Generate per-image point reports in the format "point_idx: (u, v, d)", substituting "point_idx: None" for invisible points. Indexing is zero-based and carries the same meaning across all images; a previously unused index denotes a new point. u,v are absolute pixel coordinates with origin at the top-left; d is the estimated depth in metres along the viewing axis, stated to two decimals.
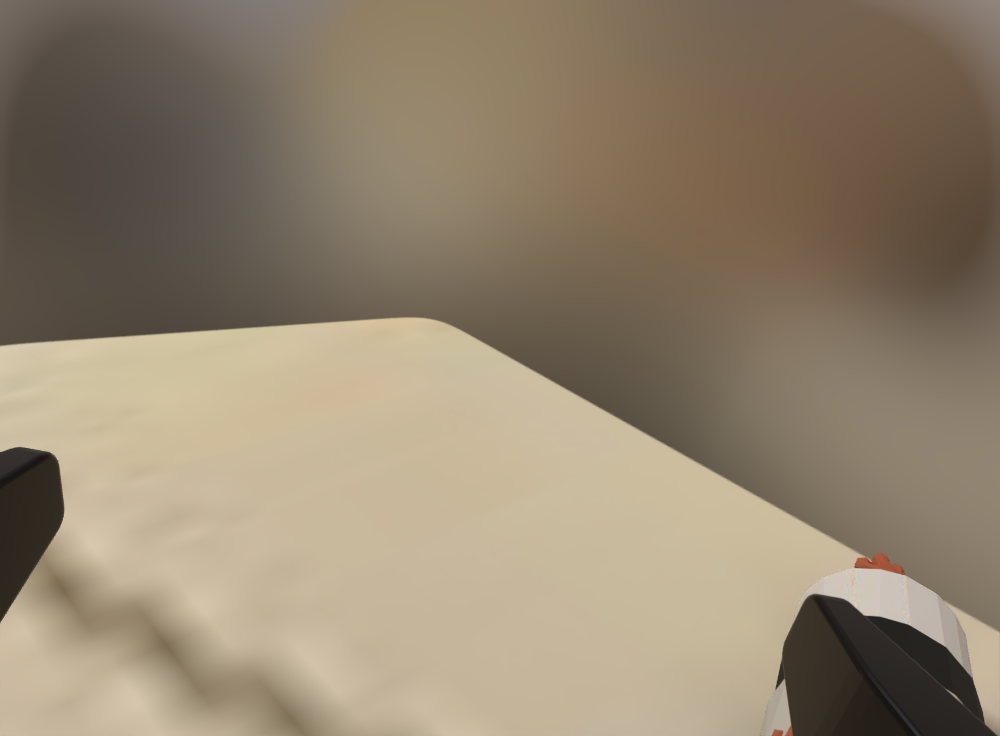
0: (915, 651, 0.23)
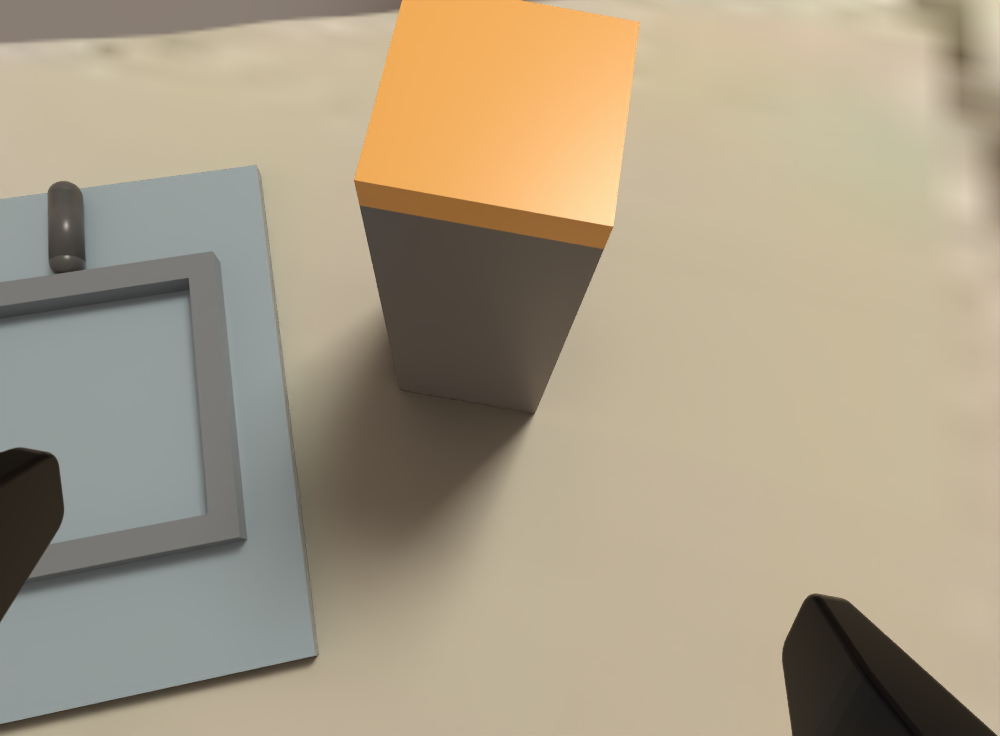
0: None
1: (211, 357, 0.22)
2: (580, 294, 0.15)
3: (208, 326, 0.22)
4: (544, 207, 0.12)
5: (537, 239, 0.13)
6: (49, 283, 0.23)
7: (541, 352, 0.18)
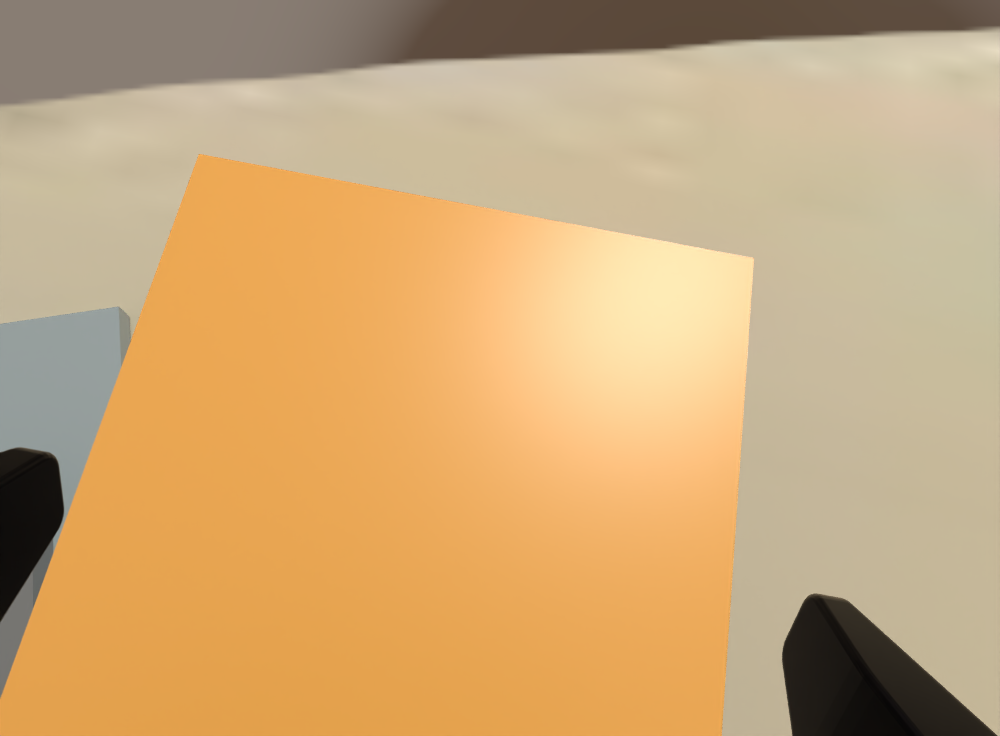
0: None
1: (14, 638, 0.14)
2: None
3: None
4: None
5: None
6: None
7: None
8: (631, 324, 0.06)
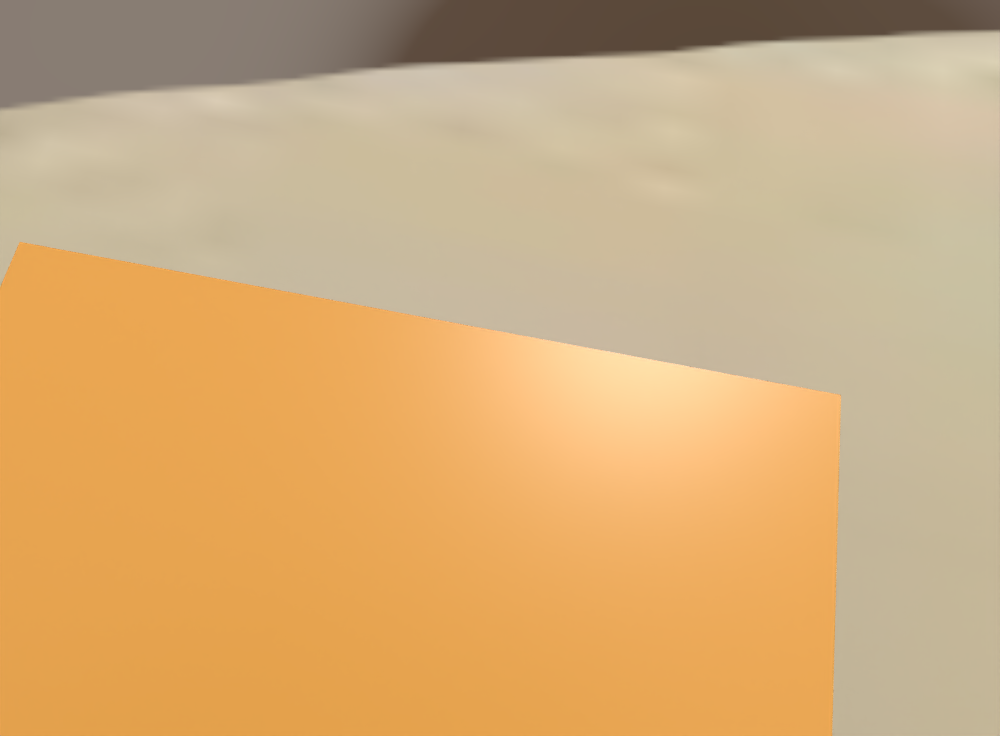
0: None
1: None
2: None
3: None
4: None
5: None
6: None
7: None
8: (661, 504, 0.04)
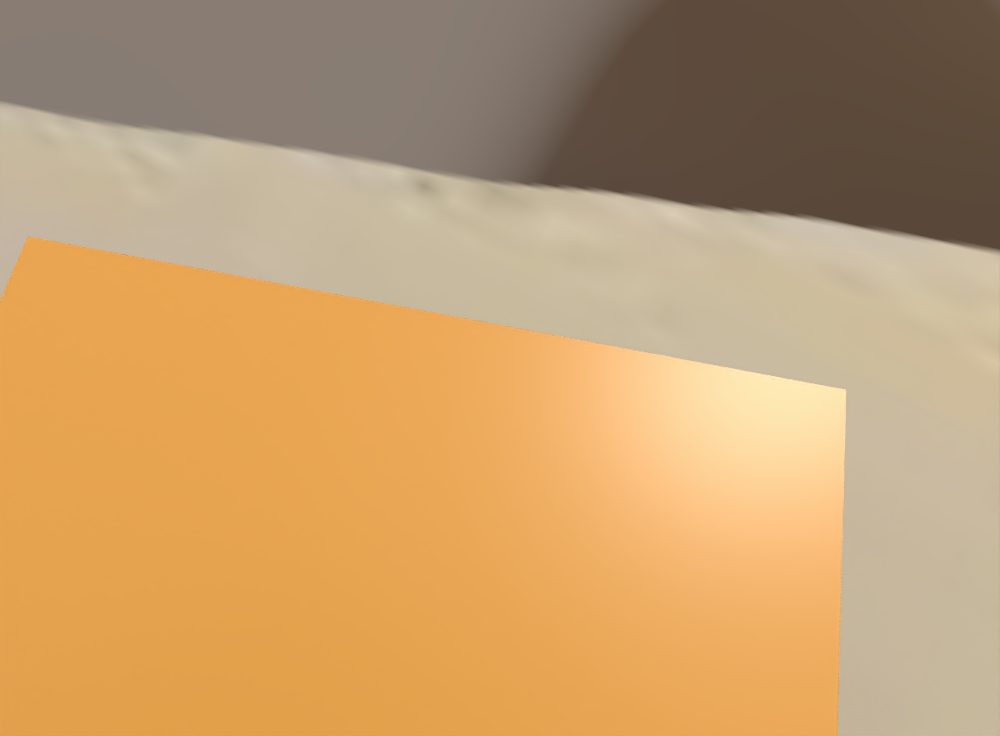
0: None
1: None
2: None
3: None
4: None
5: None
6: None
7: None
8: (667, 499, 0.04)
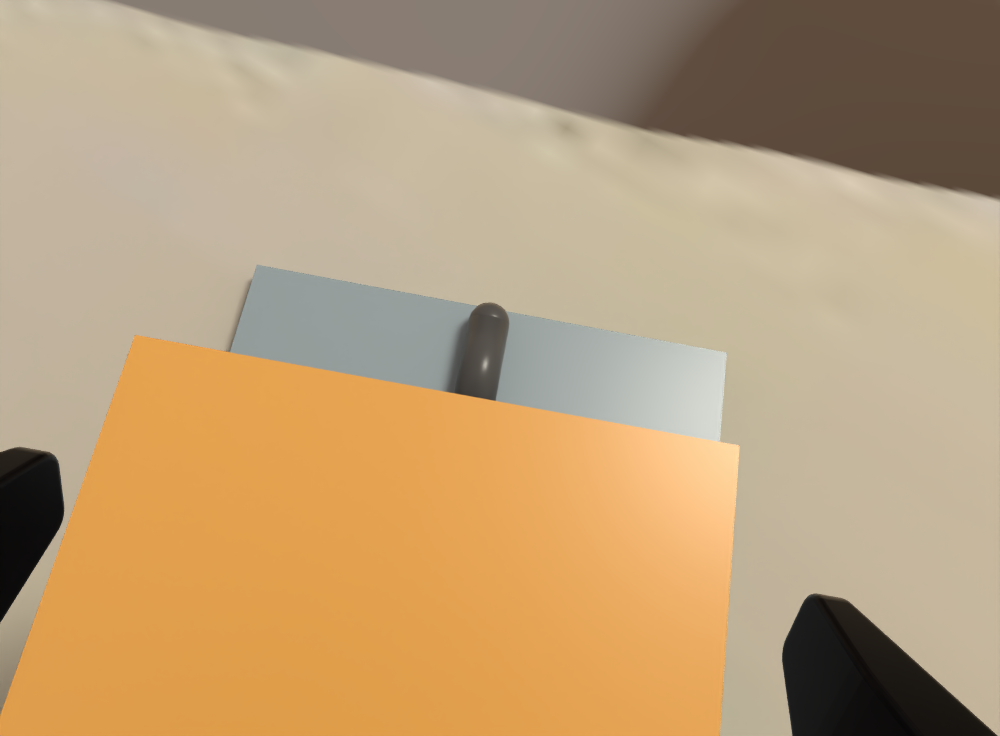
0: None
1: None
2: None
3: None
4: None
5: None
6: None
7: None
8: (605, 528, 0.05)
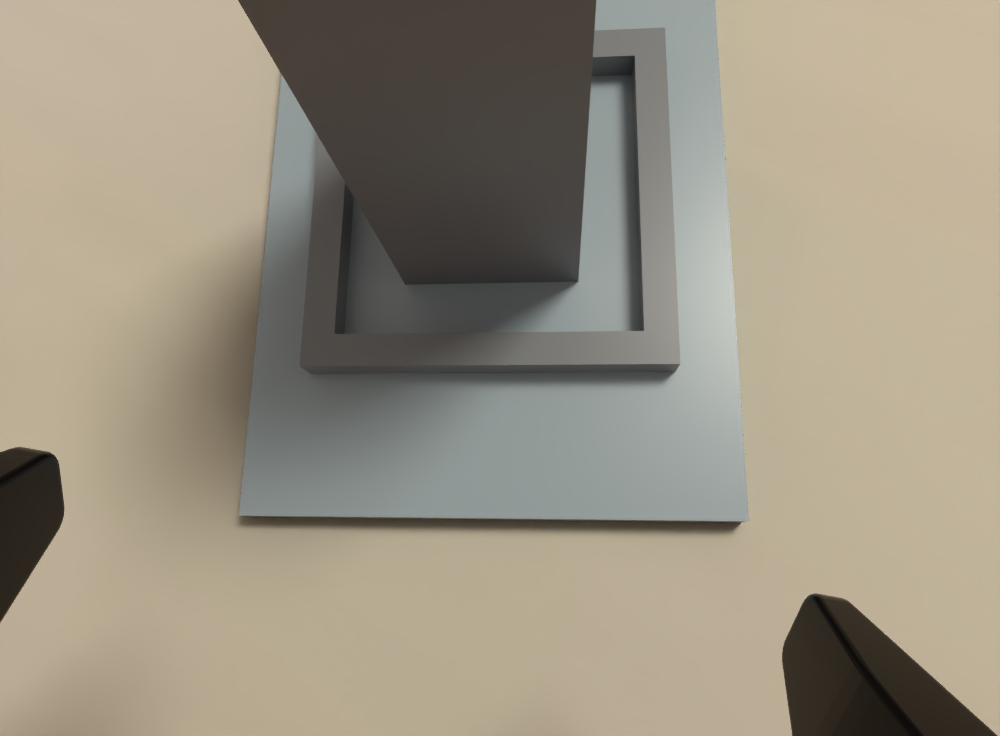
0: None
1: (657, 151, 0.18)
2: (588, 31, 0.10)
3: (655, 114, 0.19)
4: None
5: None
6: None
7: (560, 172, 0.13)
8: None
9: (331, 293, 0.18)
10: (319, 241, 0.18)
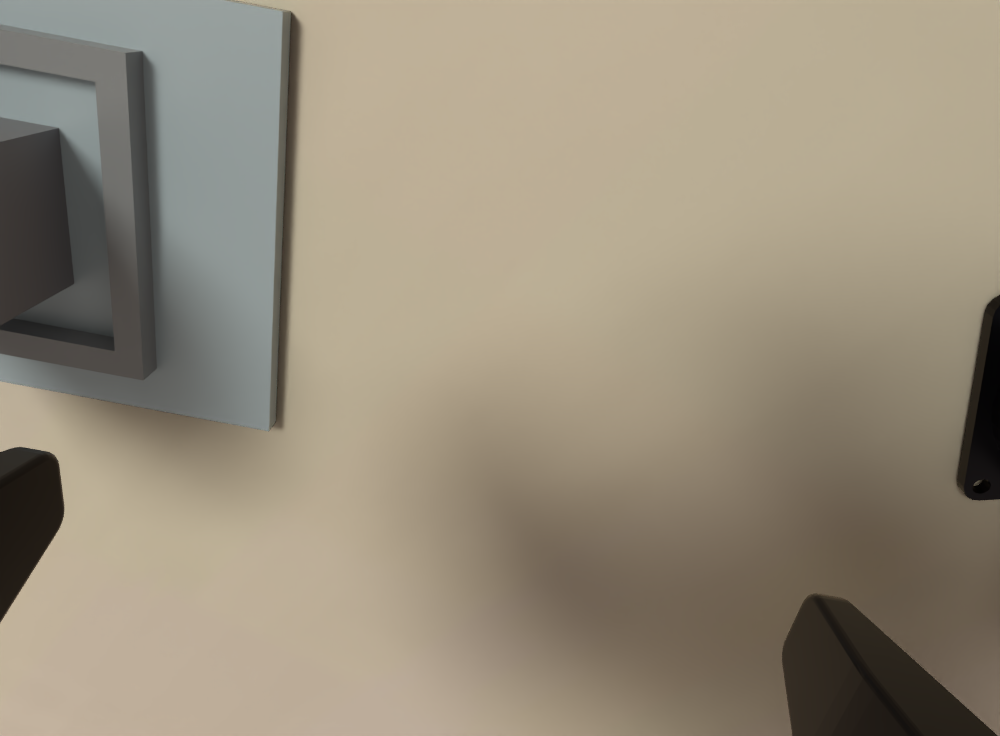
0: None
1: None
2: None
3: None
4: None
5: None
6: None
7: None
8: None
9: (80, 348, 0.21)
10: (34, 352, 0.22)
